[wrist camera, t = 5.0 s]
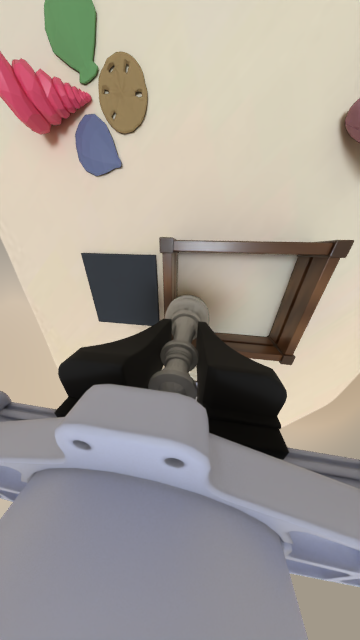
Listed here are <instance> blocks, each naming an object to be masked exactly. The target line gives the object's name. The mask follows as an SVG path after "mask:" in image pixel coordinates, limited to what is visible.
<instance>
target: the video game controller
mask: <svg viewBox="0 0 360 640" xmlns="http://www.w3.org/2000/svg"><path fill="white" fill-rule="evenodd" d="M345 125H346V129H347V131H348V133H349V135H350V136H351V137H352V138H353V139H355V140H356V141H357V142H359V143H360V99H358V100H357V101H356V102H355V103H354V104H353V105H352V107H351V108H350V109H349V111H348V113H347V116H346V119H345Z"/></svg>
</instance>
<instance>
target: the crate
mask: <svg viewBox="0 0 360 640" xmlns="http://www.w3.org/2000/svg"><path fill="white" fill-rule="evenodd" d="M159 239H160V253H163V286H164V319H165V314H166V311H167V308H168V306H169V305H170V303H171V302H172V301H173V300H174V299H175V298H177V264H178V253H179V252H210V253H250V254H290V255H297V256H298V259H297V262H296V265H295V267H294V270H293V273H292V275H291V278H290V281H289V284H288V286H287V289H286V292H285V295H284V297H283V300H282V303H281V305H280V308H279V311H278V314H277V316H276V319H275V322H274V325H273V327H272V330H271V333H270V335H269V336H268V337H258V336H246V335H235V334H223V333H215V334H216V335H217V336H218V337H219V338H220V339H221V340H222V341H223V342H224V343H226V344H227V345H228V346H229V347H231V348H232V349H234V350H235V351H237V352H238V353H240V354H242V355H243V356H245V357H247V358H253V359H263V360H273V361H279V362H280V364H287V365H292V363H293V361H294V359H295V356H294V355H293V353H294V351H295V349H296V347H297V345H298V343H299V341H300V339H301V337H302V335H303V333H304V331H305V329H306V327H307V325H308V323H309V321H310V319H311V317H312V315H313V313H314V311H315V309H316V306H317V304H318V302H319V300H320V298H321V296H322V294H323V292H324V290H325V288H326V286H327V284H328V282H329V280H330V278H331V276H332V274H333V272H334V270H335V268H336V266H337V264H338V262H339V260H340V258H345V257H346V256H347V254H348V253H349V251H350V249H351V247H352V245H353V243H354V240H333V241H323V242H252V241H191V240H176V239H174V238H166V237H160V238H159ZM173 339H174V336H173V335H172V340H173ZM196 339H197V338H195V339H194V340H192V343H191V344H192V345H193V346H194V347H195V348H196ZM172 340H171V341H172Z"/></svg>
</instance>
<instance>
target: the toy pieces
mask: <svg viewBox="0 0 360 640" xmlns="http://www.w3.org/2000/svg"><path fill="white" fill-rule="evenodd" d="M44 15H45V30H46V33H47V36H48V39H49V42H50V44H51V47H52V50H53V52H54V53H55V54H56V55H57V56H58V57H59V58H61V59H62V60H63V61H64V62H65V63H67V64H68V65H69V66H70V67H72V68H73V69H75V70H76V71H78V72H80V83H82V84H87V83H88V82H90V81H91V80H92V79H93V78H94V77H95V76H96V75H97V72H98V66H97V65H96V64H95V63H94V62H93V57H94V47H95V28H96V11H95V8H94V5H93V3H92V0H45V4H44ZM126 64H128V65H129V68H128V72H127V73H126V72H125V67H126ZM113 65H114V66H115V67H114V69H113V71H112V72H111V73H110V72H109V70H110V68H111V67H112V66H113ZM104 90H108V91H109V94H104ZM138 91H140V92H142V97H137V96H135V92H138ZM0 97H1V98H2V99H3V100H4V101H5V103H6V104H7V105H8V106H9V107H10V109H11V110H12V111H13V112H14V114H15V115H16V116H17V117H18V118H19V119H20V120H21V121H22V122H23V123H24V124H25V125H26V126H27V127H29V128H31V129H32V131H34V132H36V133H39V134H46V133H50V129H51V124H52V125H59V124H61V120H62V118H65V119H67V118H68V117H69V116H70V112H71V113H74V112H76V108H77V109H79V108H81V106H82V107H83V106H84V104H86V103H89V101H91V96H90V95H89V94H88V93H85V92H84V91H83V92H82V91H81V90H80V89H79V90H78V89H77V88H76V87H75V86H74V87H71V86H70V84H69V83H65V84H63V82H62V81H61V79H59V78H57V77H55V76H54V78H53V79H52V78H51V77H50V76H49V75H47V74H46V73H45V72H44V71H43V70H41V69H39V70H38V71H37V72H36V73H35V72H34V70H33V69H32V67H31V66H30V65H29V64H28V63H27V62H26V61H25V60H23V59H22V58H21V59H20V60H13V61H12V67H11V65H10V64H9V63H8V61H7V60H6V59H5V57H4V56H3V55H2V53H1V52H0ZM99 100H100V105H101V108H102V111H103V113H104V115H105V117H106V119H107V121H108V122H109V124H110V125H111V126H112V127H113V128H114V129H115V130H117V131H118V132H121V133H124V134H125V133H129V132H133V131H134V130H135V129H136V128H137V127H138V126H139V125H140V124H141V122H142V120H143V118H144V116H145V112H146V107H147V88H146V85H145V82H144V76H143V72H142V70H141V68H140V66H139V64H138V63H137V61H136V60H135V59H134V58H133V57H132V56H131V55H129V54H128V53H125V52H116V53H114V54H113V55H111V56H110V57H109V58H107V60H106V62H105V64H104V67H103V68H102V70H101V73H100V76H99ZM114 112H115V113H116V116H115V119H113V118H112V115H113V114H114ZM75 137H76V148H77V153H78V157H79V161H80V162H81V164H82V165H83V167H84V168H85V170H86V171H88V172H89V173H91V174H93V175H95V176H98V175H102V174H105V173H107V172H109V171H111V170H113V169H115V168H119V167H121V161H120V159H119V157H118V155H117V152H116V148H115V145H114V142H113V139H112V137H111V135H110V132H109V130H108V128H107V126H106V124H105V123H104V122H103V121H102V120H101V119H99V118H98V117H97V116H96V115H95V114H89V115H85V116H84V117H83V119H82V120H81V121H80V123H79V125H78V128H77V131H76V134H75Z"/></svg>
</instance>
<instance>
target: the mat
mask: <svg viewBox="0 0 360 640" xmlns="http://www.w3.org/2000/svg"><path fill="white" fill-rule="evenodd" d="M81 255H82V259H83V262H84V266H85V270H86V274H87V277H88V281H89V285H90V289H91V293H92V296H93V300H94V304H95V308H96V311H97V315H98V319H99V321H101V322H113V323H124V324H136V325H148V326H153V325H155V324H156V323H158V322H159V305H158V284H157V264H156V255H131V254H96V253H81Z"/></svg>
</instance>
